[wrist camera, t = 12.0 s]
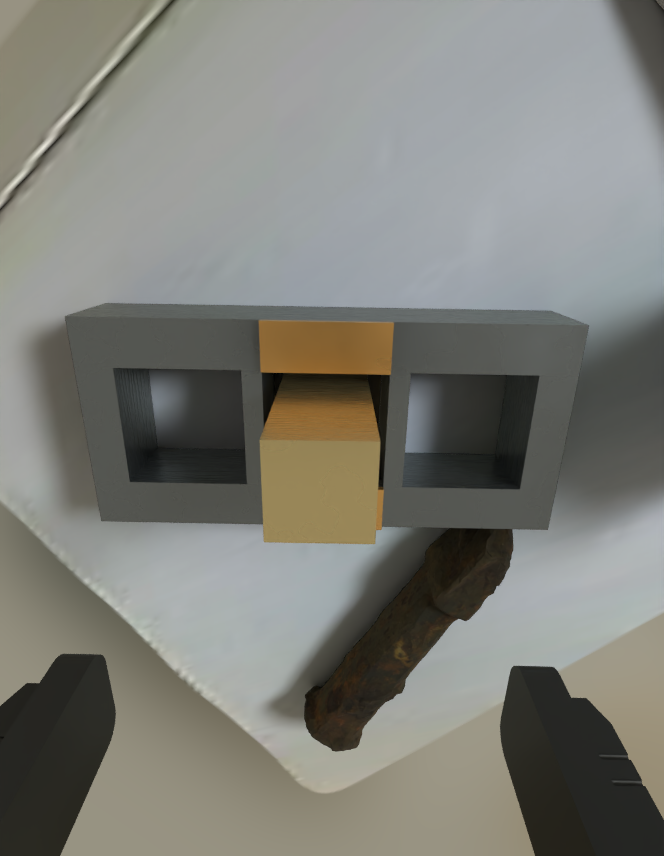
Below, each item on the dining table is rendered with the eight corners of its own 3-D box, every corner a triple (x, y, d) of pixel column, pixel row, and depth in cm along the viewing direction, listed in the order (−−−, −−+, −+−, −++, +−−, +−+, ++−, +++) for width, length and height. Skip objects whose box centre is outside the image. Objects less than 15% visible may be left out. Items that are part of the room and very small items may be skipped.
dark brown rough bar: (351, 708, 35) (355, 775, 31) (303, 685, 34) (299, 751, 30) (531, 511, 29) (566, 560, 25) (478, 478, 29) (504, 523, 24)
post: (287, 364, 26) (259, 439, 17) (365, 365, 26) (380, 441, 17) (289, 436, 27) (263, 542, 18) (362, 437, 27) (375, 544, 18)
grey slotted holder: (105, 303, 25) (61, 317, 21) (551, 310, 25) (592, 326, 21) (132, 483, 29) (98, 524, 25) (520, 490, 28) (550, 533, 24)
